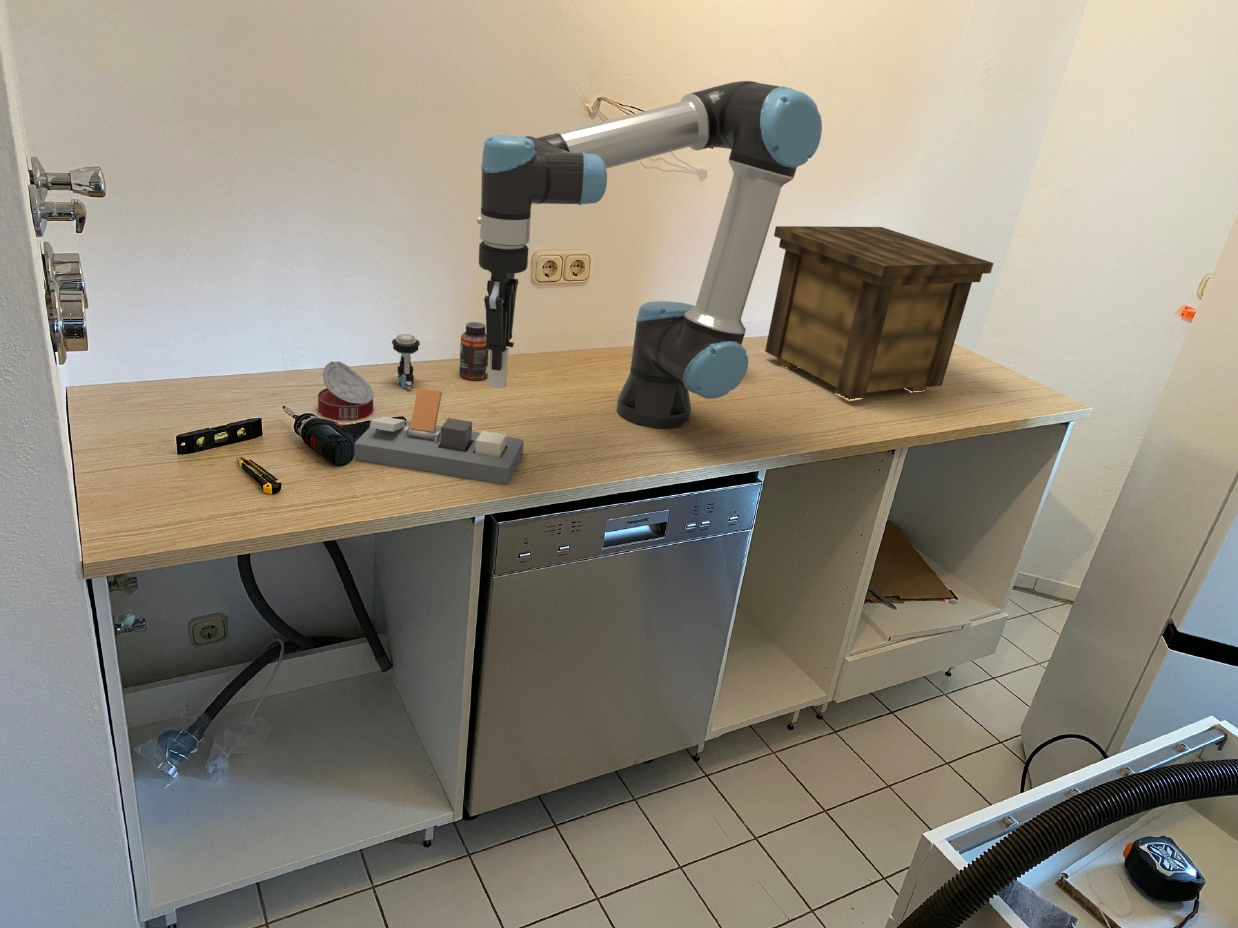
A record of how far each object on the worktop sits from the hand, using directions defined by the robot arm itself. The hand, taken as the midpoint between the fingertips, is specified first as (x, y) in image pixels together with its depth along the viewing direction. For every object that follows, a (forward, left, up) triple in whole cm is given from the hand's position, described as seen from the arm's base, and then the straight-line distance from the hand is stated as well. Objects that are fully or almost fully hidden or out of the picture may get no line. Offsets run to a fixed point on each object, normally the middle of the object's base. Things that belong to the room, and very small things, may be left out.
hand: (497, 385), depth 150 cm
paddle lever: (+12, 0, -11) cm, 16 cm away
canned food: (+31, -13, -15) cm, 37 cm away
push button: (+25, -29, -15) cm, 41 cm away
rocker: (+18, 0, -10) cm, 21 cm away
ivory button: (0, 0, -13) cm, 13 cm away
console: (+9, 0, -15) cm, 17 cm away
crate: (-70, -78, -15) cm, 106 cm away
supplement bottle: (+14, -40, -15) cm, 45 cm away
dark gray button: (+6, 0, -12) cm, 14 cm away
